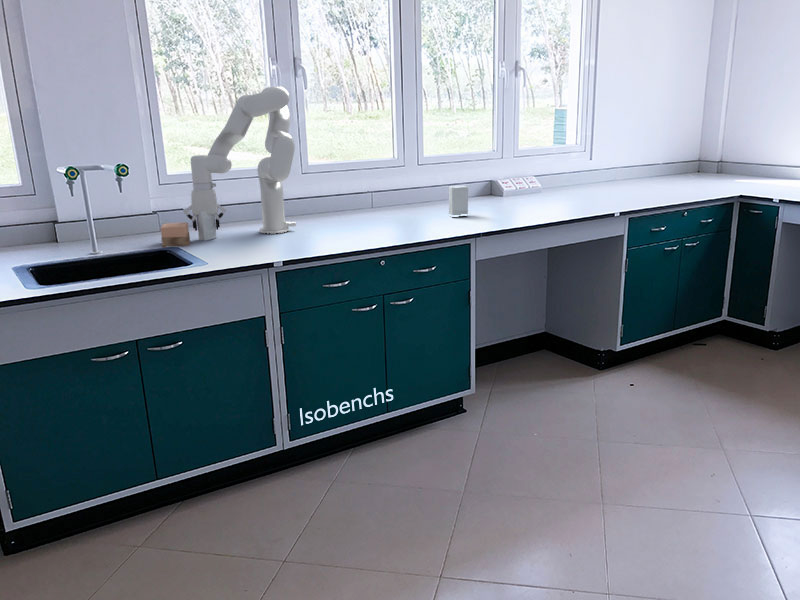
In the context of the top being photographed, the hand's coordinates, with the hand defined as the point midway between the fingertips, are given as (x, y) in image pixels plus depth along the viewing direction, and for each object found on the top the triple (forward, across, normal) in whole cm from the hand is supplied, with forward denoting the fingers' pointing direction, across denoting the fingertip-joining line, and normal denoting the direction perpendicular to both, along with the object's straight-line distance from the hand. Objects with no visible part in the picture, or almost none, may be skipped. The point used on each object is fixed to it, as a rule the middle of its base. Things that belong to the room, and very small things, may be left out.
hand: (206, 229), depth 269 cm
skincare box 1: (+4, 0, 0) cm, 4 cm away
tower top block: (0, +12, +6) cm, 13 cm away
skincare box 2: (+4, -117, -18) cm, 118 cm away
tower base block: (+4, +12, +6) cm, 14 cm away
